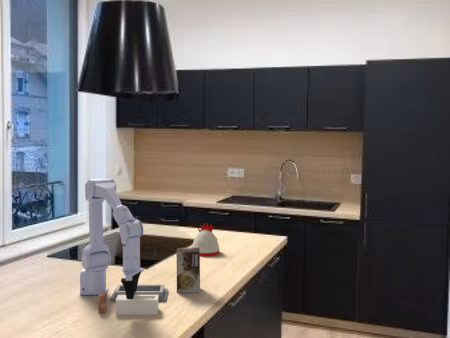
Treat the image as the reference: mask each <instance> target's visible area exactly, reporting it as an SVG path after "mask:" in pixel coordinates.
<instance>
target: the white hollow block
mask: <svg viewBox="0 0 450 338" xmlns="http://www.w3.org/2000/svg"><path fill="white" fill-rule="evenodd" d="M159 302H160V301H159V295H134V298H133V299H127V297H126V295H118V296H117V298H116V302H115V315H158V313H159V308H160V307H159V305H160V304H159Z"/></svg>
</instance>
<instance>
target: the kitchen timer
mask: <svg viewBox="0 0 450 338" xmlns="http://www.w3.org/2000/svg"><path fill="white" fill-rule="evenodd" d="M214 228H215V226H212V224H211V223H210V224H208V223H206V224H205V223H203V225H200V228H199V227H197V230H198V233H197V234H196V236H195V237H194V239H193V242H192V245H191V248H200V257H215V256H217V255H220V246H219V243H218V242H219V241H218V238H217V236H216V235H215V234H214V232H213V230H214Z"/></svg>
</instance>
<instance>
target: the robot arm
mask: <svg viewBox="0 0 450 338" xmlns="http://www.w3.org/2000/svg"><path fill="white" fill-rule="evenodd" d="M84 196H85V197H84V198H85V201H88V228H89V232H88V233H89V234H88V236H89V244H87V245H86V246H84V248H82V254H81V255H82V256H81V257H80V258H81V261H80V262H81V266H82V269H81V270H80V275H79V295H80V296H89V295H90V296H97V295H98V296H99V294H100V292H101V291H107V292H108V291H109V287H108V286H107V269H109V268H108V266H109V267H110V265H111V264H112V263H111V261H112V256H111V252H110V248H109V246H108V245H107V244H104V224H103V223H104V221H103V220H104V219H103V218H104V217H103V214H104V213H103V210H104V209H103V203H104V202H105V201H106V202H107V204H108V206H110V208H111V209H112V210H113V211H112V217H113V218H114V220H115V222H116V223H117V225H118V228H119V229H118V231H119V235H120V242H121V244H122V273H123V274H124V276H125V277H122V278H121V279H120V282H121V285H123V286H124V289H125V293H126V297H127V299H133V298H134V294H135V292H136V290H137V285H139V278H140V276H141V274H142V272H144V269H145V268H142V267H141V237H142V236H143V234H144V226H143V223H142V221H141V220H139V219H138V218H135V217H134V216H133V214H132V212H131V211H130V209H129V207H128V206H126V205H123V204H122V201H121V200H120V197H119V196H118V193H117V183H116V181H115V179H114V178H113V177H110V178H98V179H96V178H95V179H91V178H90V179H88V180H87V181H86V183H85V184H84Z"/></svg>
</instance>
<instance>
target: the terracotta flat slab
mask: <svg viewBox="0 0 450 338" xmlns="http://www.w3.org/2000/svg"><path fill="white" fill-rule="evenodd" d="M97 297H98V298H97V299H98V301H97V303H98V310H97V311H98V312H97V313H98V314H105V313H106V311H107V310H108V309H107V308H108V291H101V292H100V294H99V295H98V296H97Z"/></svg>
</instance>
